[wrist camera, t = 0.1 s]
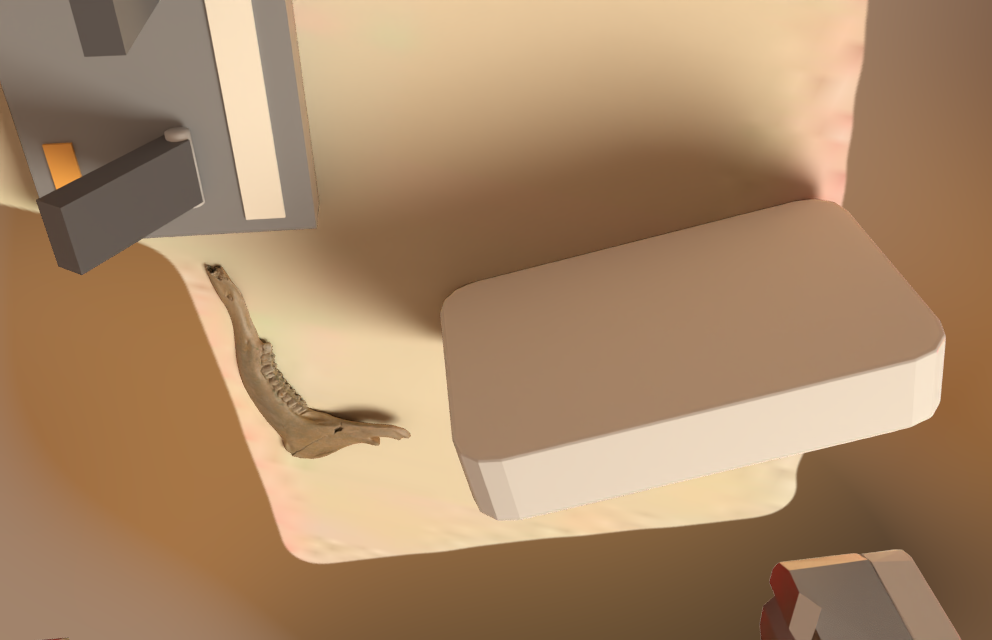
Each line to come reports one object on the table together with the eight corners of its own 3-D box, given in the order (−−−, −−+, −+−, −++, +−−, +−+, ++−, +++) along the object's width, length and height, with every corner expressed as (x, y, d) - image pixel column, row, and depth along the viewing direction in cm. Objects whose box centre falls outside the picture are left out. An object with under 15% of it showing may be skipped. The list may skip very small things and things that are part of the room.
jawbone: (330, 470, 76) (327, 489, 75) (130, 319, 66) (121, 337, 64) (413, 420, 73) (412, 439, 71) (216, 254, 63) (209, 271, 61)
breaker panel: (-54, -164, 46) (-80, -152, 44) (268, -171, 48) (262, -160, 45) (68, 217, 59) (53, 245, 57) (319, 203, 61) (316, 230, 58)
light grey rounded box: (463, 369, 70) (486, 556, 56) (437, 289, 66) (454, 470, 51) (832, 278, 69) (954, 445, 55) (832, 190, 64) (964, 347, 50)
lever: (174, 124, 53) (34, 194, 47) (197, 130, 53) (58, 202, 46) (190, 194, 56) (59, 271, 49) (212, 201, 55) (83, 279, 49)
